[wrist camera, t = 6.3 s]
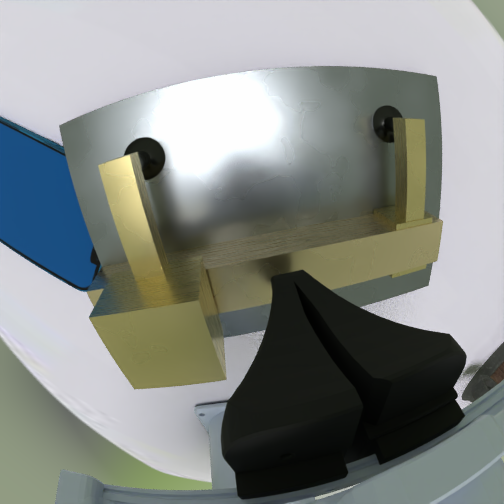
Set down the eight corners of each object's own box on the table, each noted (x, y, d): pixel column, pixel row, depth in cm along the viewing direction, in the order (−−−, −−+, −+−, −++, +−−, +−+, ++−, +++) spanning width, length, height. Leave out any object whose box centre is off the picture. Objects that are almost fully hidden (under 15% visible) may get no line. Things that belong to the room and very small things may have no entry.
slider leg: (221, 300, 15) (226, 379, 10) (151, 312, 15) (134, 389, 10) (182, 137, 11) (158, 149, 6) (100, 161, 11) (36, 192, 6)
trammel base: (422, 279, 18) (447, 304, 15) (143, 341, 17) (135, 377, 14) (427, 76, 12) (465, 75, 9) (66, 124, 11) (32, 129, 8)
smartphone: (-37, 99, 8) (132, 185, 12) (-29, 98, 8) (138, 181, 13) (-55, 199, 10) (91, 298, 15) (-47, 195, 11) (96, 289, 15)
